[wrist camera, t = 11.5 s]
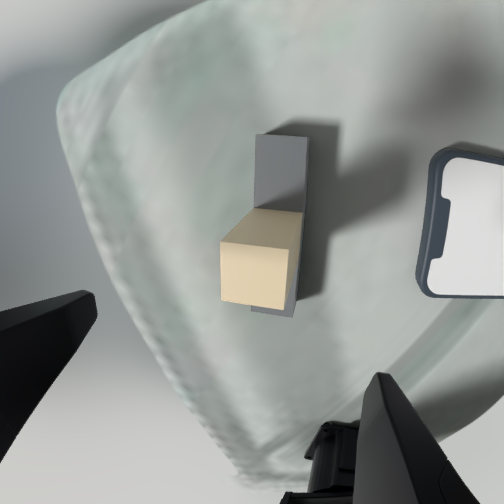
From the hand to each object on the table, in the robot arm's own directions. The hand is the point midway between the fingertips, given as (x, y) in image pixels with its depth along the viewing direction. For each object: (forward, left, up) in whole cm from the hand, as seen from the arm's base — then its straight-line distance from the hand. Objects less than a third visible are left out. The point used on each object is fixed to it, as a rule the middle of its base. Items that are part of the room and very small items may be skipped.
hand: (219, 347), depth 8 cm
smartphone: (+4, -16, -11) cm, 20 cm away
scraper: (0, 0, -11) cm, 11 cm away
